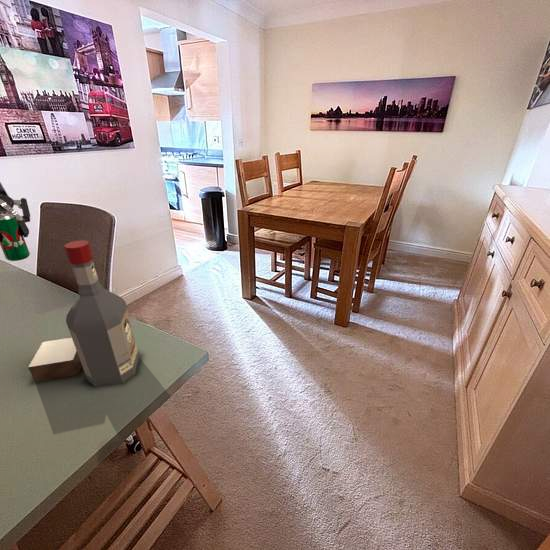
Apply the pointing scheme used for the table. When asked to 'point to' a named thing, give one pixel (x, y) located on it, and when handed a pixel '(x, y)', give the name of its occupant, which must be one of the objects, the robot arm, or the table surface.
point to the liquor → (99, 324)
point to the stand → (55, 360)
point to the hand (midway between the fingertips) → (12, 238)
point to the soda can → (12, 238)
